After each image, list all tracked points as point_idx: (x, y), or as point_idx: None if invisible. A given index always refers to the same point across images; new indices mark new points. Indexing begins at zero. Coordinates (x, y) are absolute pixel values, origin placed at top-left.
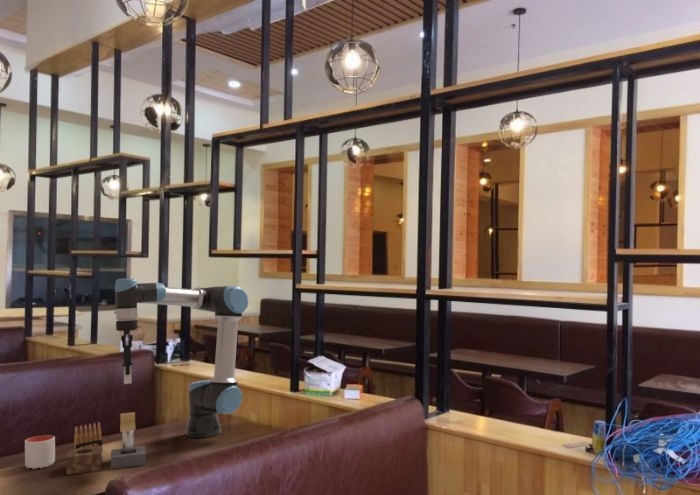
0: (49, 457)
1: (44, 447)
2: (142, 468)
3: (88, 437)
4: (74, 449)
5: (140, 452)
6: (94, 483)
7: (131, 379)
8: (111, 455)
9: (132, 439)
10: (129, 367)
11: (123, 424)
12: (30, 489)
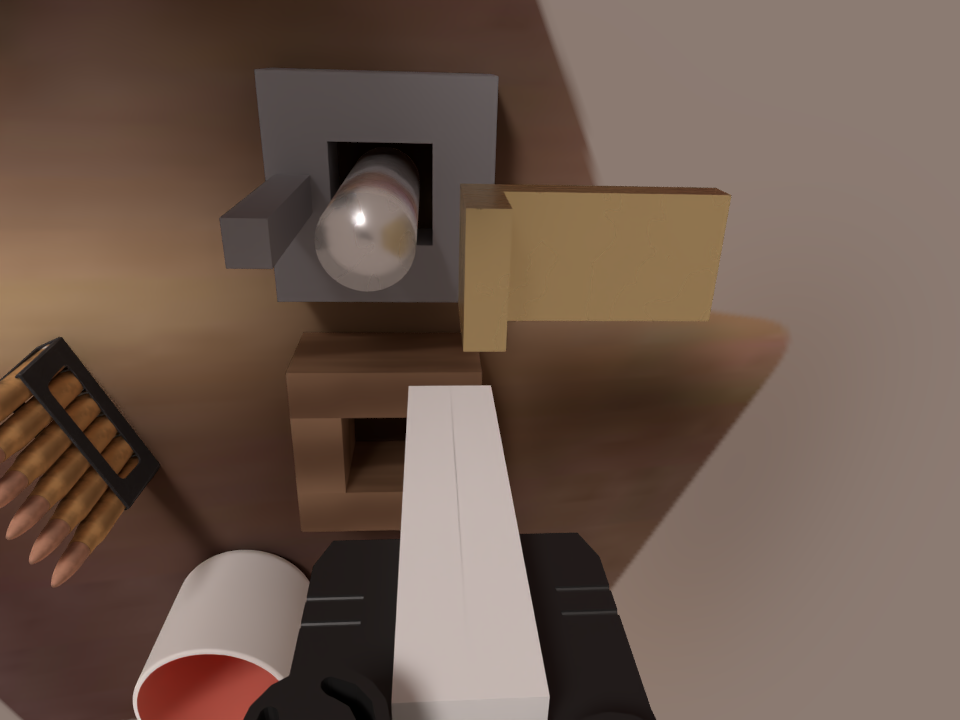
0: (287, 589)
1: (292, 652)
2: (566, 99)
3: (53, 463)
4: (313, 508)
5: (448, 112)
6: (698, 349)
7: (495, 426)
8: (432, 298)
9: (401, 181)
10: (645, 698)
11: (588, 296)
12: (620, 576)
